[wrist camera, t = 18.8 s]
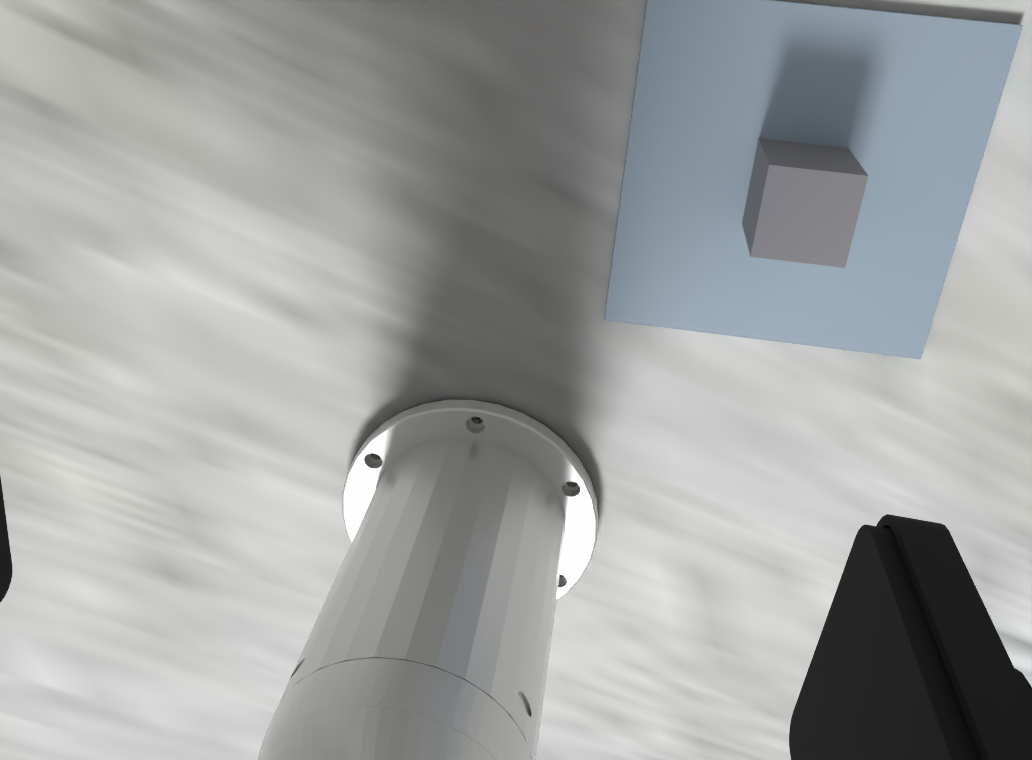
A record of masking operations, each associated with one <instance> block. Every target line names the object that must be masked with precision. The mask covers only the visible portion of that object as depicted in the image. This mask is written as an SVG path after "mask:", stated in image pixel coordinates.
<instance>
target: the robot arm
mask: <svg viewBox="0 0 1032 760" xmlns="http://www.w3.org/2000/svg"><path fill="white" fill-rule="evenodd" d="M475 417H479V418H481V419H479V420H478V419H476V418H475ZM570 481H573V482H570ZM343 517H344V522H345V526H346V531H347V534H348V536H349V538H350V541H351V545H350V547H349V550H348V552H347V554H346V556H345V559H344V561H343V563H342V565H341V567H340V570H339V572H338V574H337V576H336V578H335V581H334V583H333V585H332V587H331V590H330V592H329V594H328V596H327V598H326V601H325V603H324V605H323V607H322V609H321V612H320V614H319V616H318V618H317V621H316V623H315V625H314V627H313V629H312V632H311V634H310V636H309V638H308V640H307V643H306V645H305V647H304V649H303V651H302V654H301V656H300V658H299V660H298V663H297V665H296V667H295V669H294V671H293V674H292V676H291V678H290V680H289V683H288V685H287V687H286V689H285V692H284V694H283V696H282V699H281V701H280V703H279V705H278V707H277V709H276V711H275V714H274V716H273V718H272V720H271V723H270V725H269V727H268V729H267V732H266V734H265V737H264V740H263V743H262V746H261V749H260V752H259V756H258V760H535V759H536V751H537V743H538V736H539V728H540V720H541V713H542V705H543V697H544V690H545V682H546V675H547V667H548V659H549V652H550V644H551V636H552V629H553V621H554V613H555V606H556V600H557V599H559V598H560V597H561V596H563V595H564V594H565V593H567V592H568V591H569V590H570V589H571V588H572V587H573V585H574V584H575V583H576V582H577V581H578V580H579V579H580V578H581V576H582V575H583V573H584V571H585V569H586V567H587V566H588V564H589V562H590V560H591V558H592V554H593V551H594V547H595V543H596V540H597V529H598V509H597V499H596V495H595V492H594V489H593V486H592V482H591V479H590V477H589V475H588V474H587V472H586V470H585V468H584V466H583V465H582V463H581V461H580V459H579V458H578V457H577V456H576V455H575V453H574V452H573V451H572V450H571V449H570V447H569V446H568V445H567V444H566V443H565V442H564V441H563V440H562V439H561V438H560V437H558V436H557V435H556V434H555V433H554V432H552V431H551V430H550V429H549V428H547V427H546V426H545V425H543V424H541V423H540V422H538V421H536V420H534V419H532V418H531V417H529V416H527V415H525V414H524V413H521V412H518V411H515V410H513V409H510V408H507V407H504V406H502V405H499V404H493V403H488V402H482V401H476V400H443V401H437V402H431V403H425V404H422V405H419V406H416V407H413V408H411V409H408V410H405V411H402V412H401V413H399V414H397V415H396V416H394V417H392V418H391V419H389V420H387V421H386V422H384V423H383V424H382V425H380V426H379V427H378V428H377V429H376V430H375V431H374V432H373V433H372V434H371V435H370V436H369V437H368V438H367V439H366V441H365V442H364V444H363V445H362V447H361V448H360V450H359V451H358V453H357V454H356V456H355V458H354V460H353V462H352V465H351V467H350V469H349V471H348V473H347V477H346V481H345V485H344V489H343ZM11 578H12V561H11V553H10V546H9V538H8V531H7V523H6V515H5V508H4V500H3V493H2V485H1V477H0V602H1V601H2V599H3V598H4V597H5V595H6V593H7V591H8V588H9V585H10V582H11ZM789 746H790V754H791V760H1032V687H1031V685H1030V684H1029V682H1028V681H1027V679H1026V678H1025V676H1024V675H1023V673H1022V672H1020V671H1018V670H1017V669H1015V668H1014V667H1013V665H1012V663H1011V660H1010V658H1009V656H1008V654H1007V652H1006V650H1005V648H1004V646H1003V644H1002V641H1001V639H1000V637H999V635H998V633H997V631H996V629H995V627H994V625H993V623H992V620H991V618H990V616H989V614H988V612H987V610H986V608H985V606H984V604H983V601H982V599H981V597H980V595H979V593H978V591H977V589H976V587H975V585H974V583H973V580H972V578H971V576H970V574H969V572H968V570H967V568H966V566H965V564H964V562H963V559H962V557H961V555H960V553H959V551H958V549H957V547H956V545H955V543H954V540H953V538H952V536H951V534H950V532H949V530H948V529H947V528H946V526H945V525H943V524H940V523H934V522H928V521H923V520H917V519H911V518H906V517H900V516H894V515H889V514H887V515H885V516H883V517H882V518H881V520H880V521H879V522H878V524H877V526H870V525H863V526H862V527H861V528H860V529H859V531H858V533H857V535H856V537H855V540H854V543H853V546H852V549H851V552H850V554H849V557H848V560H847V563H846V566H845V568H844V571H843V574H842V577H841V580H840V582H839V585H838V588H837V591H836V594H835V596H834V599H833V602H832V605H831V608H830V610H829V613H828V616H827V619H826V622H825V624H824V627H823V630H822V633H821V636H820V638H819V641H818V644H817V647H816V650H815V652H814V655H813V658H812V661H811V664H810V666H809V669H808V672H807V675H806V678H805V681H804V683H803V686H802V689H801V692H800V695H799V697H798V700H797V703H796V706H795V709H794V711H793V715H792V719H791V724H790V734H789Z"/></svg>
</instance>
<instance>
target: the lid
mask: <svg viewBox="0 0 1032 760" xmlns="http://www.w3.org/2000/svg"><path fill="white" fill-rule="evenodd" d="M1022 27H1023V26H1022V25H1020V24H1012V23H1002V22H992V21H982V20H971V19H961V18H951V17H941V16H931V15H921V14H911V13H901V12H890V11H880V10H870V9H860V8H850V7H840V6H830V5H820V4H809V3H799V2H789V1H779V0H647V5H646V12H645V20H644V27H643V35H642V42H641V49H640V57H639V64H638V72H637V79H636V87H635V94H634V102H633V109H632V117H631V124H630V132H629V139H628V147H627V154H626V161H625V169H624V176H623V184H622V191H621V199H620V206H619V214H618V221H617V229H616V236H615V244H614V251H613V258H612V266H611V273H610V281H609V288H608V296H607V303H606V311H605V318H604V320H608V321H616V322H624V323H632V324H640V325H648V326H656V327H664V328H673V329H681V330H689V331H697V332H705V333H713V334H721V335H729V336H737V337H745V338H753V339H761V340H769V341H777V342H785V343H793V344H801V345H809V346H817V347H825V348H834V349H842V350H850V351H858V352H866V353H874V354H882V355H890V356H898V357H906V358H914V359H921V357H922V353H923V350H924V347H925V344H926V340H927V337H928V334H929V330H930V327H931V324H932V321H933V317H934V314H935V311H936V308H937V304H938V301H939V298H940V294H941V291H942V288H943V285H944V281H945V278H946V275H947V272H948V268H949V265H950V262H951V259H952V255H953V252H954V249H955V245H956V242H957V239H958V236H959V232H960V229H961V226H962V223H963V219H964V216H965V213H966V210H967V206H968V203H969V200H970V196H971V193H972V190H973V187H974V183H975V180H976V177H977V174H978V170H979V167H980V164H981V161H982V157H983V154H984V151H985V147H986V144H987V141H988V138H989V134H990V131H991V128H992V125H993V121H994V118H995V115H996V111H997V108H998V105H999V102H1000V98H1001V95H1002V92H1003V89H1004V85H1005V82H1006V79H1007V76H1008V72H1009V69H1010V66H1011V62H1012V59H1013V56H1014V53H1015V49H1016V46H1017V43H1018V40H1019V36H1020V33H1021V30H1022Z"/></svg>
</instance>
